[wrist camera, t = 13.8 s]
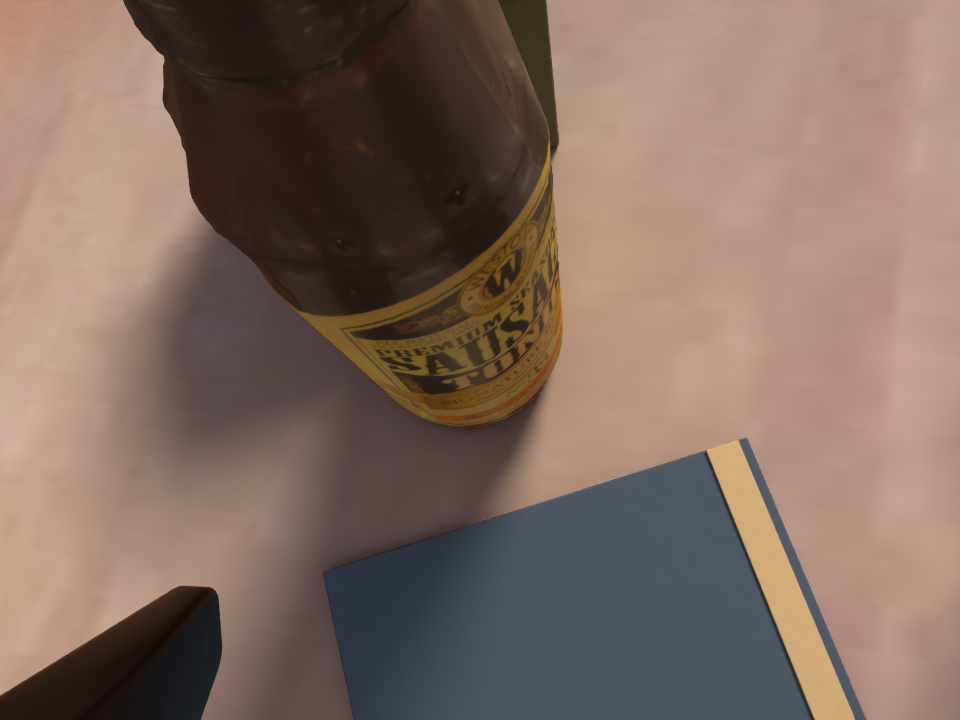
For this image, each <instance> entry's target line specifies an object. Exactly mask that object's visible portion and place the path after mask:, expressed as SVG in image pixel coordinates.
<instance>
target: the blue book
mask: <svg viewBox="0 0 960 720" xmlns="http://www.w3.org/2000/svg"><path fill="white" fill-rule="evenodd" d="M323 576H324V581H325V585H326V590H327V595H328V599H329V604H330V609H331V613H332V618H333V623H334V627H335V632H336V637H337V642H338V646H339V651H340V656H341V660H342V665H343V670H344V674H345V679H346V684H347V689H348V693H349V698H350V703H351V707H352V712H353V717H354V720H866V718H865V716H864V713H863V711H862V709H861V706H860V704H859V702H858V699H857V697H856V694H855V692H854V690H853V687H852V685H851V683H850V680H849V678H848V676H847V673H846V671H845V669H844V666H843V664H842V661H841V659H840V657H839V654H838V652H837V650H836V647H835V645H834V643H833V640H832V638H831V635H830V633H829V631H828V628H827V626H826V624H825V621H824V619H823V617H822V614H821V612H820V609H819V607H818V605H817V602H816V600H815V598H814V595H813V593H812V591H811V588H810V586H809V583H808V581H807V579H806V576H805V574H804V572H803V569H802V567H801V565H800V562H799V560H798V557H797V555H796V553H795V550H794V548H793V546H792V543H791V541H790V539H789V536H788V534H787V532H786V529H785V527H784V524H783V522H782V520H781V517H780V515H779V513H778V510H777V508H776V506H775V503H774V501H773V498H772V496H771V494H770V491H769V489H768V487H767V484H766V482H765V480H764V477H763V475H762V472H761V470H760V468H759V465H758V463H757V461H756V458H755V456H754V454H753V451H752V449H751V446H750V444H749V442H748V439H747V438H744V439H740V440H736V441H733V442H730V443H727V444H724V445H720V446H717V447H714V448H711V449H708V450H706V451H703V452H699V453H696V454H693V455H690V456H687V457H684V458H681V459H677V460H674V461H671V462H668V463H665V464H662V465H658V466H655V467H652V468H649V469H646V470H643V471H640V472H636V473H633V474H630V475H627V476H624V477H621V478H617V479H614V480H611V481H608V482H605V483H602V484H599V485H595V486H592V487H589V488H586V489H583V490H580V491H576V492H573V493H570V494H567V495H564V496H561V497H558V498H554V499H551V500H548V501H545V502H542V503H539V504H535V505H532V506H529V507H526V508H523V509H520V510H517V511H513V512H510V513H507V514H504V515H501V516H498V517H494V518H491V519H488V520H485V521H482V522H479V523H476V524H472V525H469V526H466V527H463V528H460V529H457V530H453V531H450V532H447V533H444V534H441V535H438V536H435V537H431V538H428V539H425V540H422V541H419V542H416V543H413V544H409V545H406V546H403V547H400V548H397V549H394V550H390V551H387V552H384V553H381V554H378V555H375V556H372V557H368V558H365V559H362V560H359V561H356V562H353V563H349V564H346V565H343V566H340V567H337V568H334V569H331V570H327V571H324V572H323Z"/></svg>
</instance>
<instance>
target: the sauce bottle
mask: <svg viewBox="0 0 960 720" xmlns="http://www.w3.org/2000/svg"><path fill="white" fill-rule="evenodd" d="M123 1H124V4H125V6H126V8H127V10H128V12H129V13H130V15H131V17H132V19H133V21H134V23H135V25H136V27H137V28H138V29H139V31H140V32H141V33H142V35H143V36H144V37H145V38H146V39H147V40H148V41H150V42H151V44H152V45H153V46H154V47H155V49H156V50H157V51H158V52H159V53H160V54H162V55H163V56H165V62H164V65H163V76H164V88H163V103H164V107H165V109H166V110H167V111H168V113H169V114H170V116H171V118H172V120H173V122H174V124H175V126H176V128H177V130H178V132H179V134H180V137H181V142H182V147H183V148H184V150H185V152H186V158H187V168H188V177H189V186H190V193H191V196H192V199H193V201H194V202H195V204H196V206H197V208H198V209H199V211H200V213H201V214H202V215H203V216H204V218H205V219H206V220H207V221H208V222H209V223H210V224H211V225H212V227H213V228H214V229H215V231H216V232H217V233H219V234H220V235H222V236H223V237H225V238H226V239H227V240H229V241H230V242H231V243H232V244H234V245H235V246H236V247H237V248H238V249H240V250H241V251H242V252H243V253H244V254H246V255H247V256H248V257H249V258H250V259H251V260H252V261H253V262H254V264H256V265H257V266H258V268H259V269H260V270H261V272H262V273H263V275H264V277H265V279H266V280H267V282H268V283H269V284H270V286H271V287H272V288H273V289H274V290H275V291H276V292H277V293H278V294H279V295H280V296H281V297H282V298H283V299H284V300H285V301H286V302H287V303H288V304H289V305H290V306H291V307H292V308H293V309H294V310H296V311H297V312H298V313H299V314H300V315H301V316H302V317H303V318H304V319H306V320H307V321H308V322H309V323H310V324H311V325H312V326H313V327H314V328H316V329H317V330H318V331H319V332H320V333H321V334H322V335H323V336H324V337H326V338H327V339H328V340H329V341H330V342H331V343H332V344H333V345H335V346H336V347H337V348H338V349H339V350H340V351H341V352H343V353H344V354H345V355H346V356H347V357H348V358H349V359H350V360H352V361H353V362H354V363H355V364H356V365H357V366H358V367H359V368H360V369H361V370H363V371H364V372H365V373H366V374H367V375H368V376H369V377H370V378H371V379H372V380H373V381H374V382H376V383H377V384H378V385H379V386H380V387H381V388H382V389H383V390H385V391H386V392H387V393H388V394H389V395H390V396H391V397H392V398H393V399H394V400H395V401H396V402H398V403H399V404H400V405H401V406H403V407H404V408H406V409H407V410H408V411H410V412H412V413H413V414H415V415H417V416H419V417H421V418H423V419H426V420H429V421H432V422H435V423H438V424H443V425H446V426H452V427H460V428H463V429H468V430H470V429H477V428H480V427H484V426H487V425H491V424H494V423H496V422H499V421H501V420H504V419H506V418H508V417H510V416H512V415H516V414H517V413H518V412H519V411H521V410H522V409H523V408H524V407H525V406H526V405H527V404H529V403H530V402H532V401H533V400H535V399H536V398H537V396H538V393H539V392H540V391H541V390H542V389H543V386H544V384H545V382H546V381H547V378H548V377H549V375H550V373H551V372H552V370H553V368H554V365H555V363H556V361H557V359H558V356H559V352H560V348H561V341H562V307H561V296H560V279H559V263H558V247H557V229H556V223H555V207H554V200H553V175H552V166H551V160H550V140H549V130H548V126H547V121H546V117H545V114H544V112H543V110H542V107H541V105H540V102H539V100H538V97H537V95H536V92H535V90H534V87H533V85H532V83H531V80H530V78H529V75H528V73H527V70H526V68H525V65H524V63H523V60H522V58H521V56H520V53H519V51H518V48H517V46H516V43H515V41H514V38H513V36H512V33H511V31H510V29H509V26H508V24H507V21H506V19H505V16H504V14H503V11H502V9H501V6H500V4H499V1H498V0H123Z"/></svg>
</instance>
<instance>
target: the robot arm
mask: <svg viewBox="0 0 960 720" xmlns="http://www.w3.org/2000/svg"><path fill="white" fill-rule="evenodd" d="M221 654H222V637H221V624H220V611H219V599H218V595H217V593H216V591H215V590H214V589H213V588H210V587H198V586H179V587H176V588H174V589H172V590H171V591H169V592H168V593H166V594H164V595H163V596H161V597H159V598H158V599H156V600H155V601H153V602H151V603H150V604H148V605H146V606H145V607H143V608H142V609H140V610H138V611H137V612H135V613H133V614H132V615H130V616H129V617H127V618H125V619H124V620H122V621H121V622H119V623H117V624H116V625H114V626H112V627H111V628H109V629H108V630H106V631H104V632H103V633H101V634H99V635H98V636H96V637H95V638H93V639H91V640H90V641H88V642H86V643H85V644H83V645H82V646H80V647H78V648H77V649H75V650H74V651H72V652H70V653H69V654H67V655H65V656H64V657H62V658H61V659H59V660H57V661H56V662H54V663H52V664H51V665H49V666H48V667H46V668H44V669H43V670H41V671H39V672H38V673H36V674H35V675H33V676H31V677H30V678H28V679H27V680H25V681H23V682H22V683H20V684H18V685H17V686H15V687H14V688H12V689H10V690H9V691H7V692H5V693H4V694H2V695H1V696H0V720H201V717H202V714H203V711H204V709H205V706H206V703H207V700H208V697H209V694H210V691H211V688H212V686H213V683H214V680H215V677H216V674H217V671H218V668H219V664H220V660H221Z"/></svg>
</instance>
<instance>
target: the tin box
mask: <svg viewBox="0 0 960 720" xmlns="http://www.w3.org/2000/svg"><path fill="white" fill-rule="evenodd" d="M498 1H499V4H500V6H501V9H502V11H503V14H504V16H505V19H506V21H507V24H508V26H509V29H510V31H511V33H512V36H513V38H514V41H515V43H516V46H517V48H518V51H519V53H520V56H521V58H522V60H523V63H524V65H525V68H526V70H527V73H528V75H529V78H530V80H531V83H532V85H533V87H534V90H535V92H536V95H537V97H538V100H539V102H540V105H541V107H542V110H543V112H544V114H545V117H546V121H547V126H548V130H549V140H550V148H551V147H554V146H557V145H558V144H559V135H558V124H557V113H556V102H555V91H554V80H553V69H552V58H551V47H550V36H549V25H548V14H547V3H546V0H498ZM164 59H165V56H164Z"/></svg>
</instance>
